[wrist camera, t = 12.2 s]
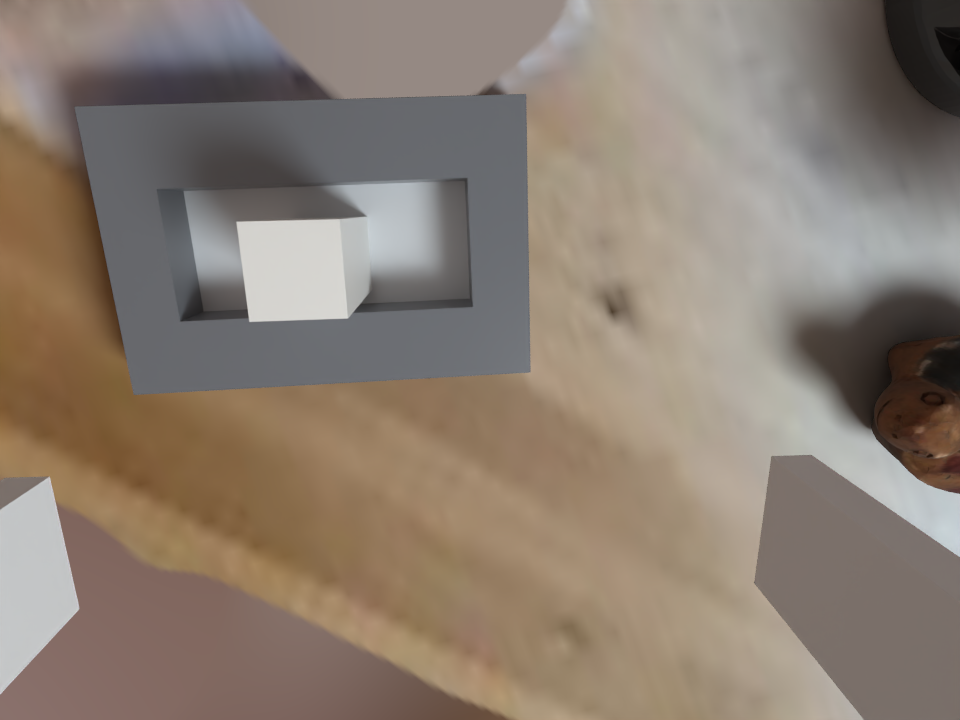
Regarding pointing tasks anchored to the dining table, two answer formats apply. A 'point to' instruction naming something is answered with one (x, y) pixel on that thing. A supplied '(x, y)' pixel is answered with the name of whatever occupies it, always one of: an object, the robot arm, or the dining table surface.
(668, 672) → the dining table surface
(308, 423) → the dining table surface
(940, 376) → the decorative turtle
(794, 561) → the robot arm
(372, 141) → the block
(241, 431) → the dining table surface
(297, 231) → the plug
